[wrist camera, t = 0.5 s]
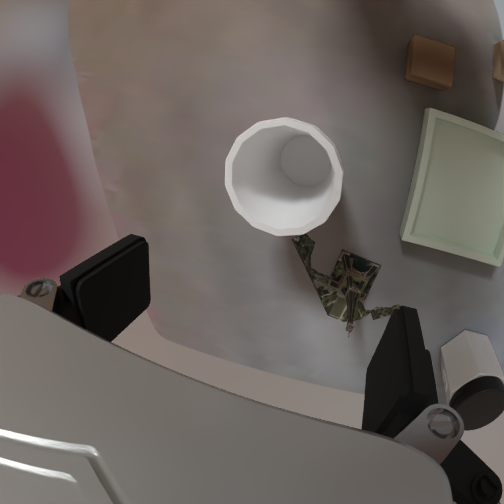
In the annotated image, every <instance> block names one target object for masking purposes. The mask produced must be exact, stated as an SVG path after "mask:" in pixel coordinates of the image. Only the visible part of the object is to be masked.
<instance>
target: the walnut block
mask: <svg viewBox="0 0 504 504" xmlns="http://www.w3.org/2000/svg"><path fill="white" fill-rule="evenodd" d="M454 61H455V47H453V46H450V45H447V44H444V43H441V42H438V41H435V40H431V39H428V38H425V37H421V36H418V35H414V36H413V37H412V39H411V40H410V42H409V44H408V49H407V61H406V72H405V80H407V81H411V82H414V83H418V84H421V85H425V86H428V87H431V88H435V89H438V90H441V91H442V90H445V89H447V88H450V87H452V86H453V75H454Z"/></svg>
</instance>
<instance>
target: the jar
mask: <svg viewBox="0 0 504 504" xmlns="http://www.w3.org/2000/svg"><path fill="white" fill-rule="evenodd" d="M441 373H442V378H443V384H444V389H445V395H446V401H447V406H449V407H451V408H453V409H454V410H455V411H456V412H457V413H458V414H459V415H460V417H461V418H462V420H463V423H464V430H474V429H478V428H481V427H483V426H485V425H487V424H489V423H491V422H492V421H494V420H495V419H496V418H497V417H498V416H499V415H500V414H501V413H502V412H503V411H504V384H503V383H504V375H503V372H502V370H501V367H500V365H499V362H498V359H497V357H496V355H495V352H494V350H493V347H492V345H491V343H490V340H489V338H488V336H486V335H482V334H479V333H475V332H471V331H468V330H464V331H463V332H462V333H460V334H459V335H458V336H456V337H455V338H453V339H452V340H451V341H449V342H448V343H446V344H445V345H444V346H442V347H441Z"/></svg>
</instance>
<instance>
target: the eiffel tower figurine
mask: <svg viewBox="0 0 504 504" xmlns="http://www.w3.org/2000/svg"><path fill="white" fill-rule="evenodd" d="M292 241H293V243H294V245H295V247H296V249H297V251H298V253H299V255H300V257H301V259H302V261H303V263H304V265H305V268H306V270H307V272H308V274H309V276H310V278H311V280H312V282H313V284H314V286H315V289H316V291H317V293H318V295H319V297H320V299H321V301H322V304H323V306H324V308H325V310H326V312H327V315H329V316H331V317H334V318H336V319H339V320H341V321H343V322H347V327H346V331H348V332H349V333H350V332H351V331H352V329H353V327H354V326H353V321H355V320H360V319H361V318H362V317H363V316H366V315H368V314H369V313H371V315H372V318H373V320H375V319H378V318H381V317H384V316H387V315H391V314H392V312H393V310H394V309H395V308H396V309H399V308H400V307H399V304H398V305H395V306H392V307H390V308H388V307H385V308H383V307H376V308H374V309H373V310H365V309H364V306H363V304H362V303H361V302H360V301H359V298H360V299H363V300H364V299H365V297H366V295H367V293H368V291H369V289H370V288H371V286H372V284H373V282H374V280H375V278H376V276H377V274H378V271H379V269H380V267H381V265H379V264H377V263H374V262H372V261H370V260H367V259H365V258H362V257H360V256H357V255H355V254H352V253H350V252H347V251H345V250H342V251H341V254H340V256H339V258H338V261H337V263H336V265H335V268H334V270H333V272H332V274H331V277H330V276H326V275H323V274H321V273H318V272H317V271H316V270H314V269H312V268H311V254H312V251H313V248H314V244H315V242H314V241H313V240H311V239H310V238H309V237H308V235H307V234H306V233H305V234H303V235H301V236H298V237H296V238H294V239H292ZM348 337H349V336H348Z"/></svg>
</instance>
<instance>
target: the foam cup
mask: <svg viewBox="0 0 504 504" xmlns="http://www.w3.org/2000/svg"><path fill="white" fill-rule="evenodd" d="M343 174H344V167H343V164H342V161H341V159H340V156H339V153H338V151H337V148H336V145H335V144H334V143H333V142H332V141H331V140H330V139H329V138H328V137H327V136H326V135H325V134H324V133H323V132H322V131H321V130H320V129H319V128H318V127H317V126H315V125H312V124H309V123H305V122H302V121H299V120H296V119H293V118H286V117H284V118H278V119H272V120H266V121H260V122H257V123H256V124H254V125H253V126H252V127H250V128H249V129H248V130H246V131H245V132H244V133H242V134H241V135H240V136H238V137H237V139H236V140H235V142H234V144H233V146H232V148H231V150H230V152H229V154H228V156H227V158H226V163H225V187H226V189H227V192H228V194H229V196H230V199H231V201H232V203H233V206H234V208H235V210H236V211H237V212H238V213H239V214H240V215H241V216H243V217H244V218H245V219H246V220H247V221H248V222H249V223H250V224H251V225H252V226H253V227H255V228H257V229H260V230H263V231H265V232H268V233H270V234H273V235H276V236H287V235H303V234H305V233H306V232H308V231H310V230H312V229H314V228H315V227H317V226H319V225H321V224H323V223H324V222H326V220H327V219H328V217H329V216H330V214H331V213H332V211H333V210H334V208H335V207H336V205H337V204H338V202H339V201H340V197H341V192H342V183H343Z"/></svg>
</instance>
